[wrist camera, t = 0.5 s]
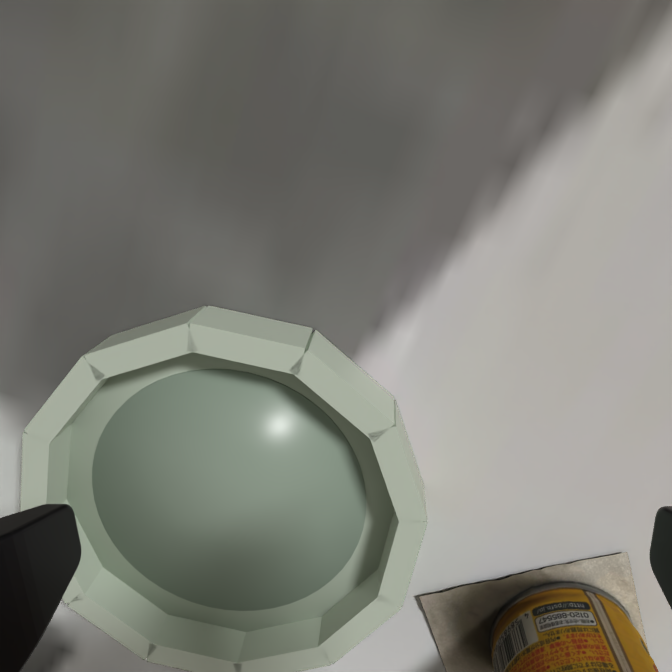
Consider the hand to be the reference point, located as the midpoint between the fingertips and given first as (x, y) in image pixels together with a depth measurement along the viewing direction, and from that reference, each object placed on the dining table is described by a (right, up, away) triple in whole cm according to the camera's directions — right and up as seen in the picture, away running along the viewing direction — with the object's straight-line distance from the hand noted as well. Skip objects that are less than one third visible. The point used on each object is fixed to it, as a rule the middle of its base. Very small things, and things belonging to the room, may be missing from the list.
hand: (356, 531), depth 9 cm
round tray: (-5, -3, +15) cm, 16 cm away
